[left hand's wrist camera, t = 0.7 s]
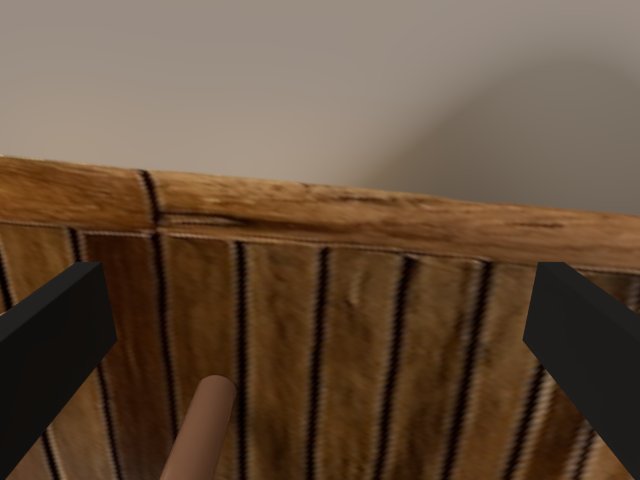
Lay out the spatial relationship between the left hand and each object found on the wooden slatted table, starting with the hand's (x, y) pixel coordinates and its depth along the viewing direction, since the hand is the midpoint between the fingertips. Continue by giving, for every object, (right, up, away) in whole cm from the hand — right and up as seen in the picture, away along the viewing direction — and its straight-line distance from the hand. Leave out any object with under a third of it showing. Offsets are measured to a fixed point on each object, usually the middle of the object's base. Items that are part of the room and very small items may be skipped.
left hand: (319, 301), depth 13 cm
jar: (-12, -16, +36) cm, 41 cm away
